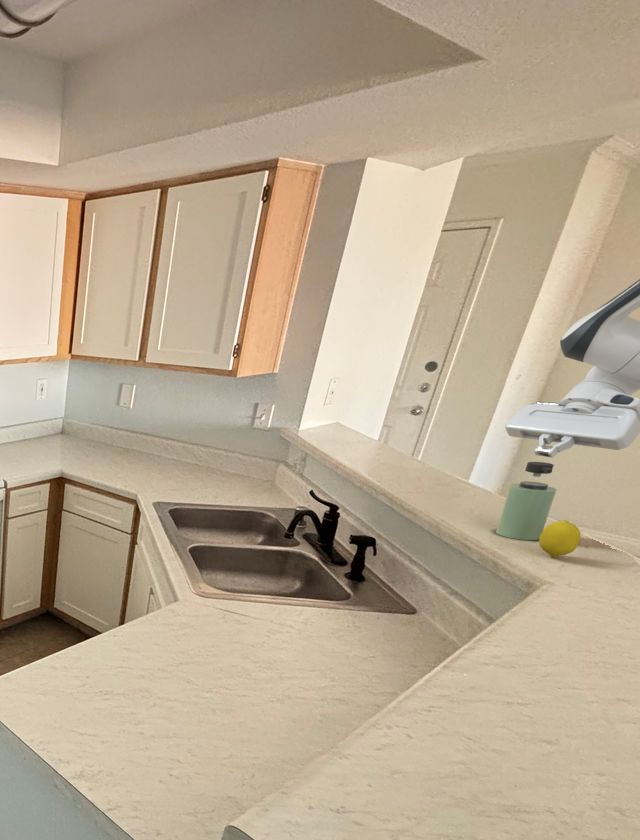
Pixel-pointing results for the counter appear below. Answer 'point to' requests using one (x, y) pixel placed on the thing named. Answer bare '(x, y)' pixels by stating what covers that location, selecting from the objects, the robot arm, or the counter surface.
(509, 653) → the counter surface
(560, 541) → the lemon
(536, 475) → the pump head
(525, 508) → the soap bottle
